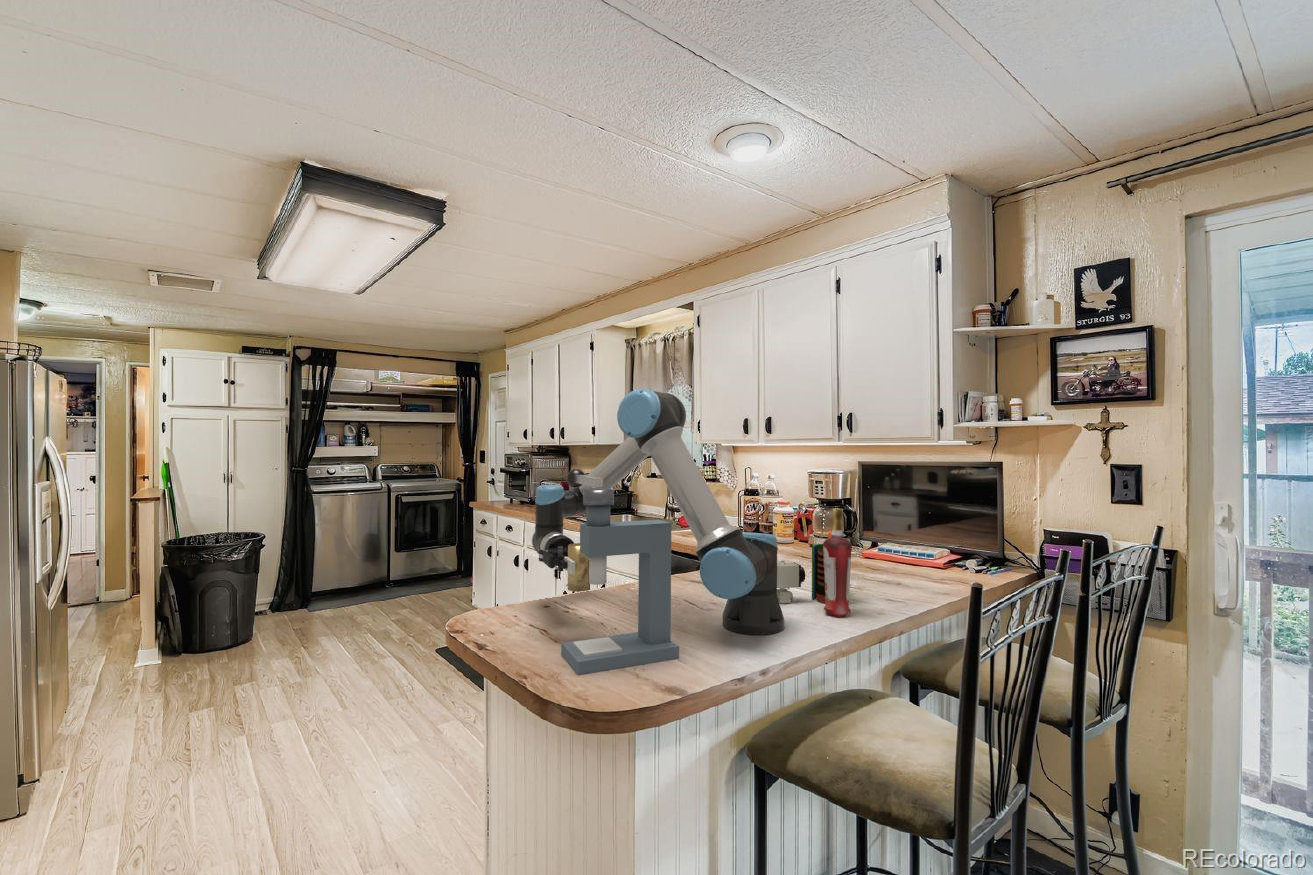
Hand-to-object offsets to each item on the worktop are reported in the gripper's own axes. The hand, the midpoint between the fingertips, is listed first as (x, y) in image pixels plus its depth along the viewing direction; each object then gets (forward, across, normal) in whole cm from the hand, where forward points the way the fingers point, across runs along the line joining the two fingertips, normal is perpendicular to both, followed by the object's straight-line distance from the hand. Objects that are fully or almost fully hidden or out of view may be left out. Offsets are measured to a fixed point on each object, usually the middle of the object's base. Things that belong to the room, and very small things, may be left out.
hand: (586, 567), depth 128 cm
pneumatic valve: (-13, -63, -18) cm, 67 cm away
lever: (0, 0, +15) cm, 15 cm away
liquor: (+3, -69, -18) cm, 71 cm away
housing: (-5, 0, -6) cm, 8 cm away
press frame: (+8, -5, -18) cm, 20 cm away
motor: (-9, -77, -18) cm, 79 cm away
